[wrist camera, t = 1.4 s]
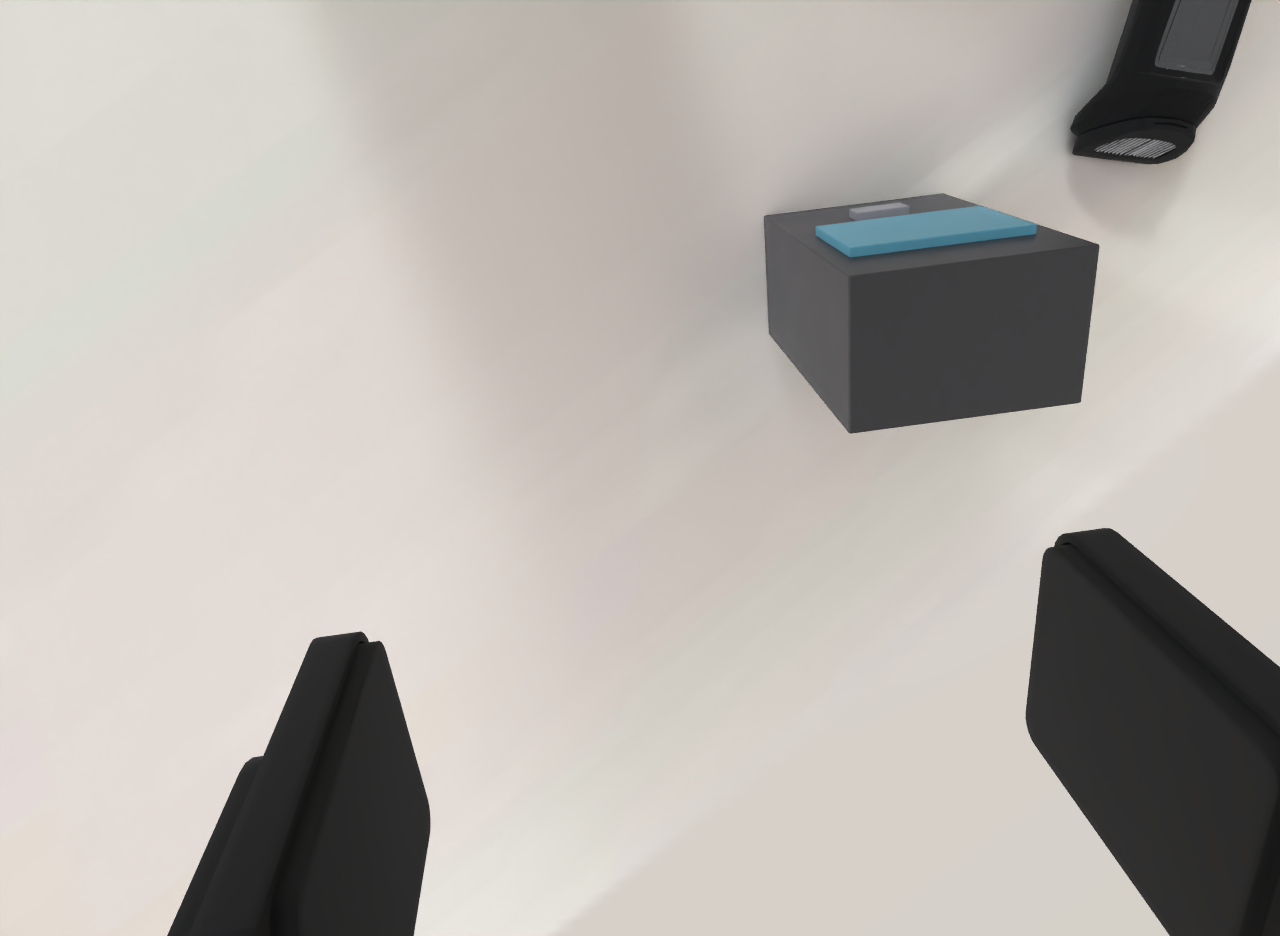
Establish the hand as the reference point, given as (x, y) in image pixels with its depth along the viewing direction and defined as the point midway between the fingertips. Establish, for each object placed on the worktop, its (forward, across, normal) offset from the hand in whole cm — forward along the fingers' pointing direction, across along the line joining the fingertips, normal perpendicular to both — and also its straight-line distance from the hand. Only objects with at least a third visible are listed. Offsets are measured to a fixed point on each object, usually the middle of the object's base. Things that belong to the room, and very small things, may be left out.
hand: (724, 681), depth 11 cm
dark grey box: (+20, -8, 0) cm, 22 cm away
